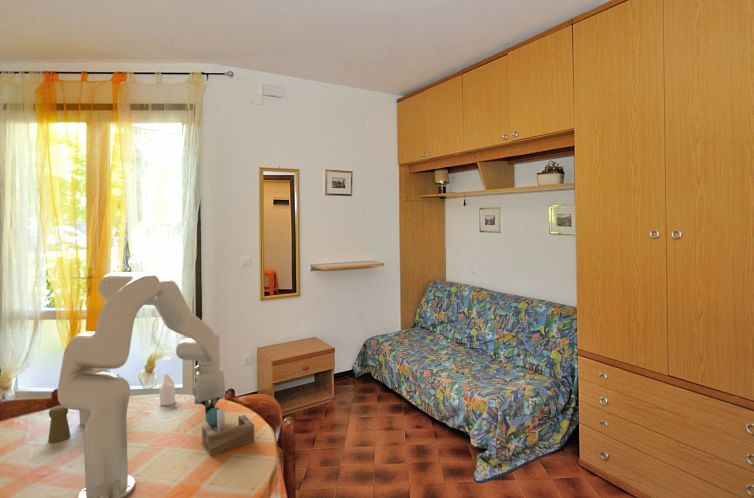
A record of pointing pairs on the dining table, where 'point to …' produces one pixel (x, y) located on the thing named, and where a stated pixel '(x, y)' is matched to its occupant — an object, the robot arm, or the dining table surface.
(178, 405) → the dining table surface
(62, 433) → the cork
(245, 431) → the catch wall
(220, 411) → the pin
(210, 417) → the ball
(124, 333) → the robot arm
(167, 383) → the white pointed block
